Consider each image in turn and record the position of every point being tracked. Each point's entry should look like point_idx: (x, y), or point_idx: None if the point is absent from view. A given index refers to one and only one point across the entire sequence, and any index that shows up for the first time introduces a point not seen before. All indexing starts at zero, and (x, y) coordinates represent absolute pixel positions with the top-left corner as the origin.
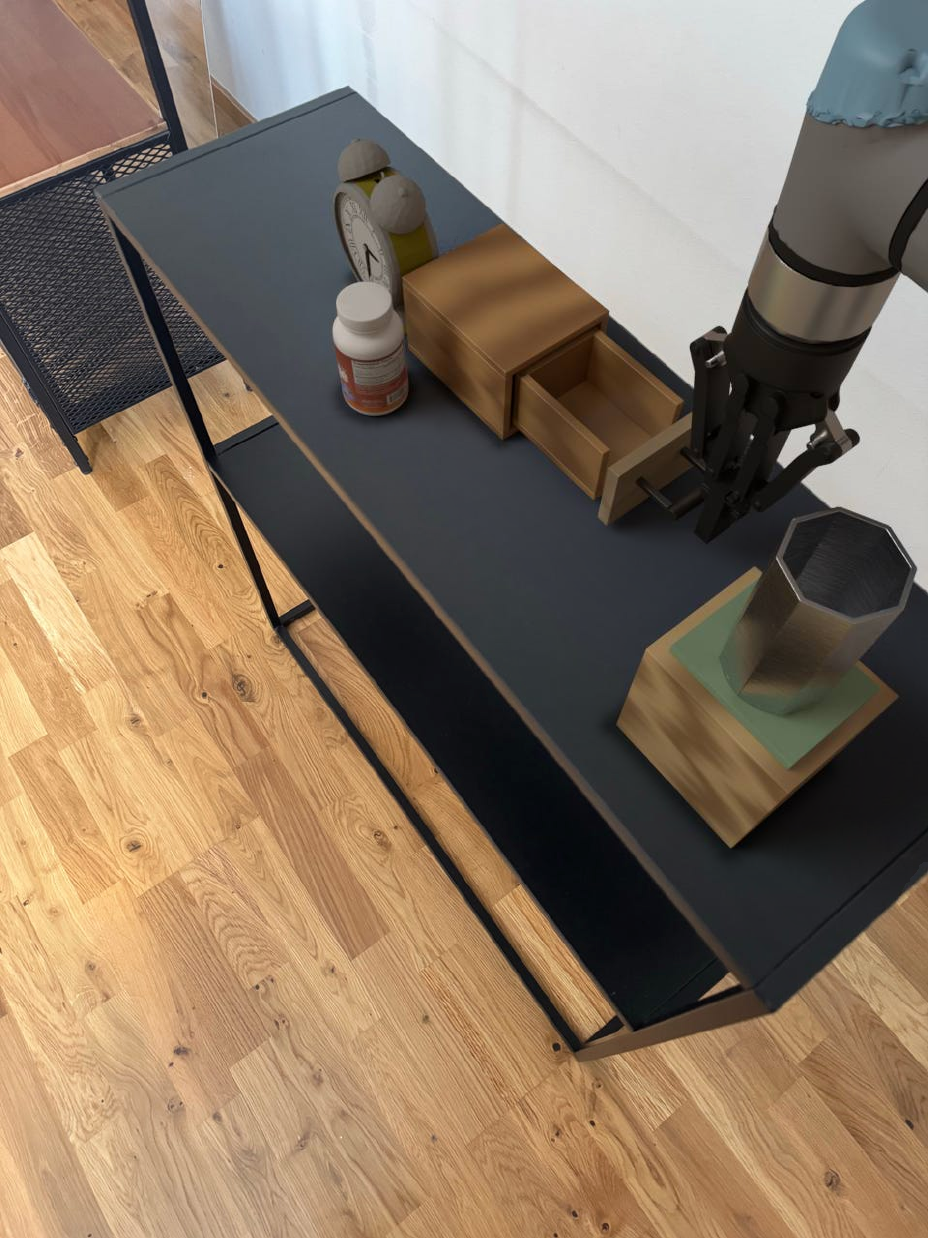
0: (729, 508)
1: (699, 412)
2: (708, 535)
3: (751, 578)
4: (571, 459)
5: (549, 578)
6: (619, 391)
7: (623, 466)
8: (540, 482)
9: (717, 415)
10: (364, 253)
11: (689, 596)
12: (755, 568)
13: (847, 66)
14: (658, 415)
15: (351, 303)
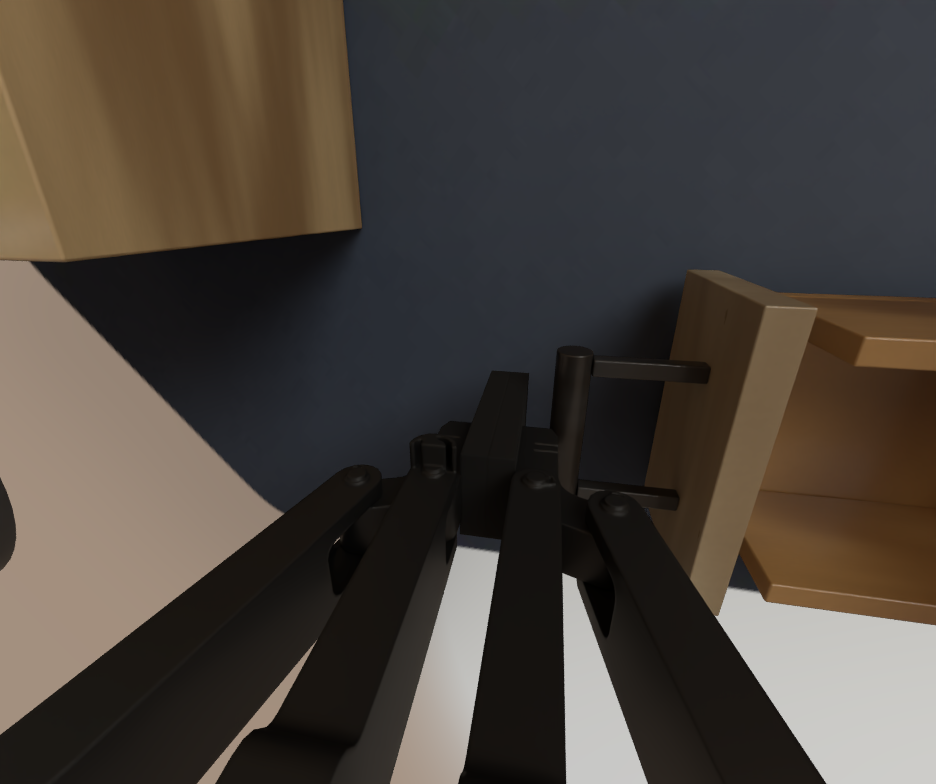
0: (464, 440)
1: (703, 668)
2: (492, 380)
3: (18, 205)
4: (901, 308)
5: (703, 65)
6: (907, 531)
7: (776, 346)
8: (900, 246)
9: (632, 676)
10: None
11: (464, 287)
12: (50, 252)
13: None
14: (784, 534)
15: None
